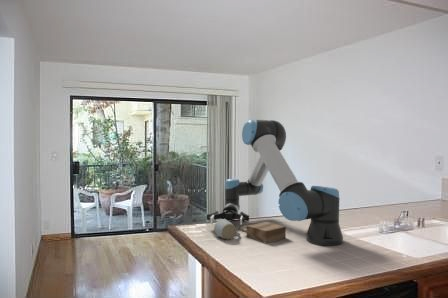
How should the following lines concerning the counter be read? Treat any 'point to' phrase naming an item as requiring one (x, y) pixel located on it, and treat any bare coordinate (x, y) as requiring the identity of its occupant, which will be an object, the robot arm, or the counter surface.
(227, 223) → the ceramic mug
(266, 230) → the walnut base block
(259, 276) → the counter surface
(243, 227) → the cork coaster
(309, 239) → the robot arm
